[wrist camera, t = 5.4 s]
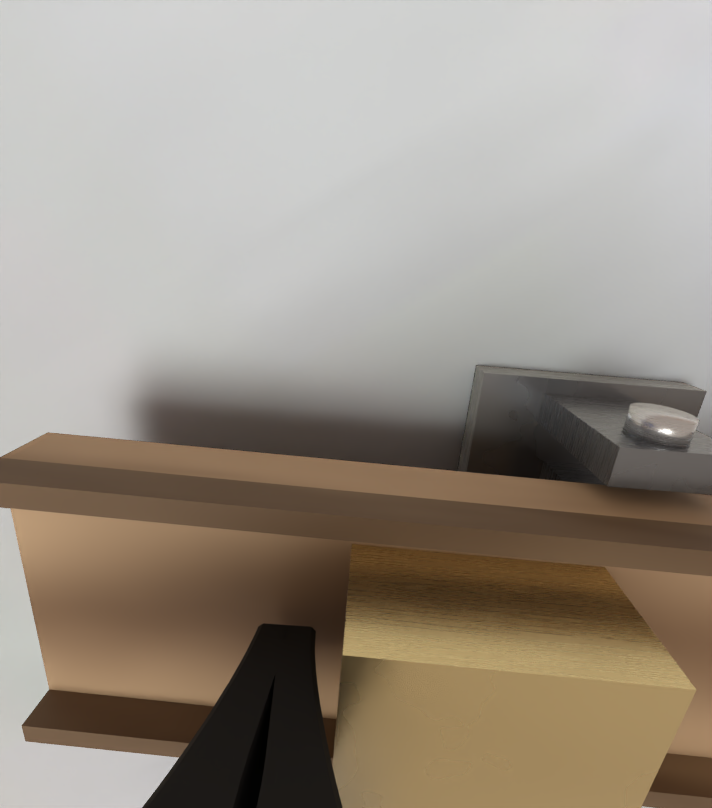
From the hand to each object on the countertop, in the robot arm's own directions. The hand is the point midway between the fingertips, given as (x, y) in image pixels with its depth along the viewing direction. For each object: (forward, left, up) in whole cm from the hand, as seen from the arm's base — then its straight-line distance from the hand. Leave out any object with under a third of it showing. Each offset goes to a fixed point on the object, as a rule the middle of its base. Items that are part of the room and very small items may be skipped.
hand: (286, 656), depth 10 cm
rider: (0, -4, -1) cm, 4 cm away
